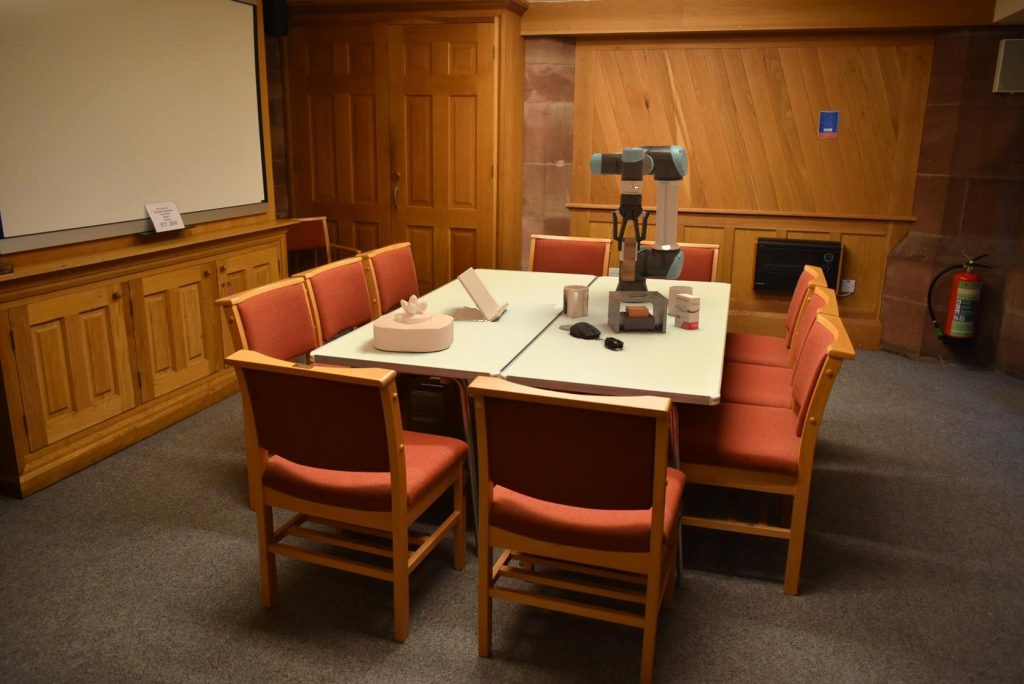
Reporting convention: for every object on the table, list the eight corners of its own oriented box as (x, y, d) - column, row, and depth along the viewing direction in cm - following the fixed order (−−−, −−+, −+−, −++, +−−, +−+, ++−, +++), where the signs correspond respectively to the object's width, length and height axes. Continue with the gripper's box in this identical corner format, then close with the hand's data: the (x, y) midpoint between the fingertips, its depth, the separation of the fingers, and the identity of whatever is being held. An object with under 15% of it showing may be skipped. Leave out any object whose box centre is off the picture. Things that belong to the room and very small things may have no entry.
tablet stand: (452, 320, 293) (451, 275, 289) (465, 308, 317) (465, 266, 313) (499, 322, 290) (499, 277, 286) (509, 309, 314) (509, 267, 310)
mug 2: (688, 318, 300) (690, 290, 297) (665, 316, 303) (667, 288, 301) (694, 313, 310) (696, 285, 308) (672, 311, 314) (674, 283, 311)
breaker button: (624, 322, 285) (625, 306, 283) (643, 322, 285) (644, 306, 284) (628, 326, 278) (629, 309, 277) (647, 326, 278) (648, 309, 277)
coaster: (558, 325, 284) (558, 324, 284) (579, 325, 285) (579, 324, 285) (560, 330, 277) (560, 329, 277) (582, 330, 277) (582, 329, 277)
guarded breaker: (607, 323, 289) (609, 291, 286) (655, 323, 290) (657, 291, 287) (615, 333, 274) (616, 299, 271) (665, 333, 275) (667, 299, 272)
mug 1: (594, 315, 304) (595, 287, 301) (575, 319, 296) (576, 290, 293) (573, 311, 311) (574, 284, 308) (554, 315, 302) (554, 287, 300)
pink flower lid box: (445, 352, 246) (445, 302, 242) (367, 350, 247) (366, 300, 244) (457, 334, 270) (456, 289, 266) (386, 332, 272) (385, 287, 268)
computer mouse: (581, 331, 277) (582, 318, 276) (632, 348, 254) (633, 334, 253) (562, 334, 273) (563, 321, 272) (612, 351, 250) (613, 337, 249)
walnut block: (620, 279, 279) (622, 237, 276) (631, 279, 279) (633, 237, 276) (623, 281, 275) (625, 238, 272) (634, 281, 276) (636, 238, 272)
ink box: (699, 328, 282) (701, 296, 279) (688, 329, 280) (690, 297, 277) (684, 324, 290) (686, 293, 287) (673, 325, 288) (675, 293, 285)
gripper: (609, 193, 266) (606, 261, 272) (658, 194, 267) (654, 261, 273) (605, 192, 273) (602, 258, 279) (652, 193, 275) (649, 258, 280)
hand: (628, 260), depth 276 cm, fingers closed on walnut block, 4 cm apart
